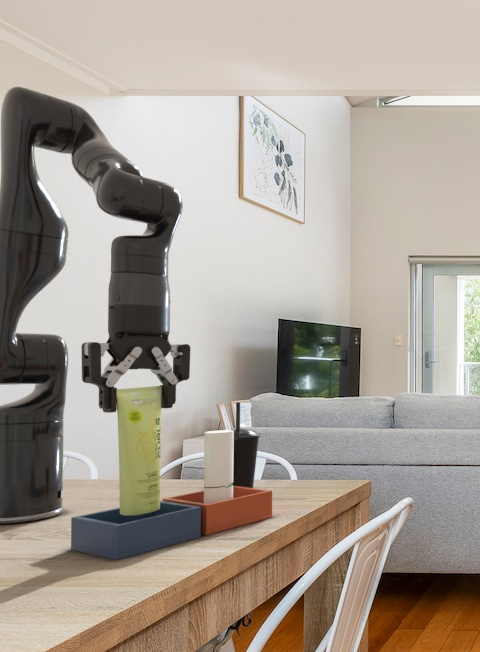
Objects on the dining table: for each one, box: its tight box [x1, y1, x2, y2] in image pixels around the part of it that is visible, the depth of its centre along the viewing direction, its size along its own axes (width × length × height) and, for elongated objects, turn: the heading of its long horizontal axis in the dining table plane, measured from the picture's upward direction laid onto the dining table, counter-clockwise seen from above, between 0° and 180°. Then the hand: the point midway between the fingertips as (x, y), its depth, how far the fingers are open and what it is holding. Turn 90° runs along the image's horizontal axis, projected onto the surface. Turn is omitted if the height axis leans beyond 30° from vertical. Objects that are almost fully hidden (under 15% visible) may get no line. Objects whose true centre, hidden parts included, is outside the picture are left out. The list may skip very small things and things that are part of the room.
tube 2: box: [203, 429, 234, 504], centre depth 101 cm, size 4×4×15 cm
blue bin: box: [70, 500, 202, 560], centre depth 89 cm, size 12×12×5 cm
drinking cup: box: [230, 402, 261, 488], centre depth 113 cm, size 8×8×20 cm
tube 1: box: [116, 385, 162, 516], centre depth 89 cm, size 6×5×20 cm
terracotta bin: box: [162, 486, 273, 536], centre depth 101 cm, size 12×12×5 cm
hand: (138, 409), depth 89 cm, fingers closed on tube 1, 7 cm apart
